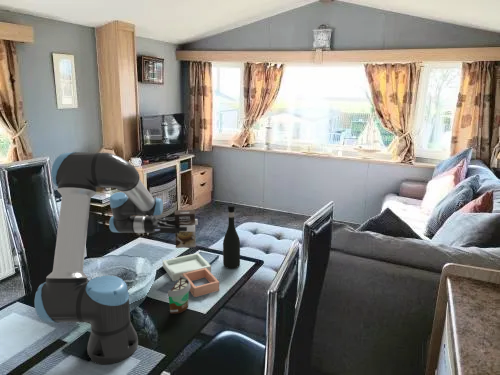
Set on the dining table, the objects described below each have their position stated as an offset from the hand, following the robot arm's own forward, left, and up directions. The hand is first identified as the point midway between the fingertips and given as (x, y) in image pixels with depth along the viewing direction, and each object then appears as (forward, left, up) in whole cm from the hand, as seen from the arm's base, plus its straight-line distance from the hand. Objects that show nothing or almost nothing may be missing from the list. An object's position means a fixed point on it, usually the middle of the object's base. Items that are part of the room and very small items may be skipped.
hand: (196, 225), depth 162 cm
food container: (-16, -26, -22) cm, 38 cm away
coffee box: (-4, +2, -10) cm, 11 cm away
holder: (-4, -15, -22) cm, 27 cm away
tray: (-4, +3, -22) cm, 22 cm away
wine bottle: (+16, -4, -22) cm, 27 cm away
